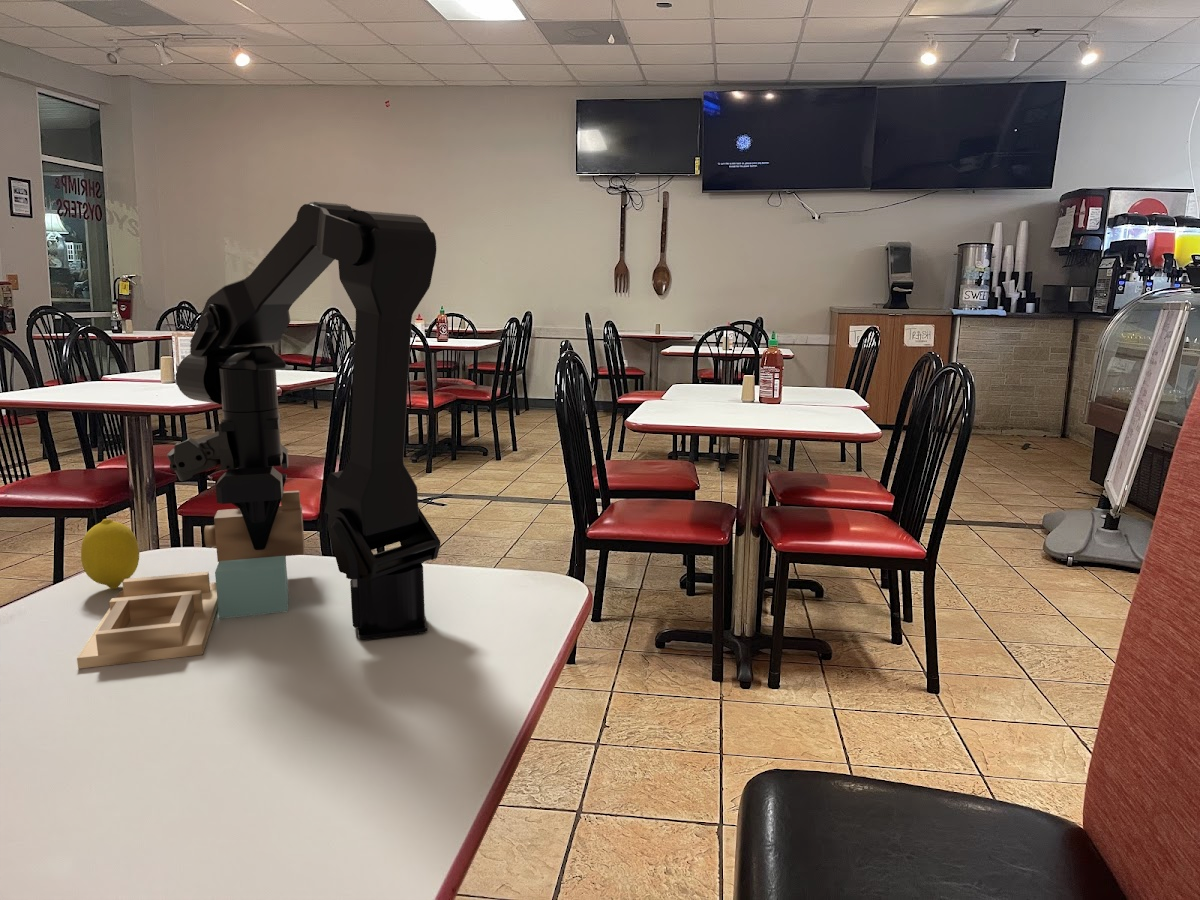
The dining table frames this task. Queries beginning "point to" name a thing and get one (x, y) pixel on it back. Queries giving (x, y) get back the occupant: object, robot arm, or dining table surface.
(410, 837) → the dining table surface
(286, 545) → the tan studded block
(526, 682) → the dining table surface
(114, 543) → the lemon
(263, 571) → the teal block
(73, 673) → the dining table surface
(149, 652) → the jig
